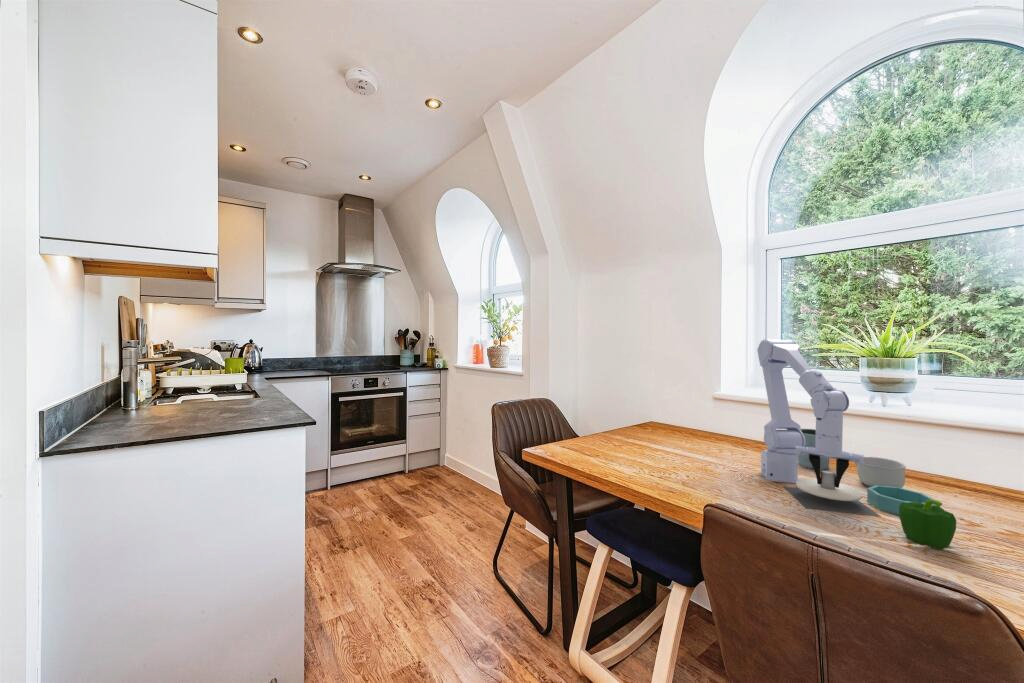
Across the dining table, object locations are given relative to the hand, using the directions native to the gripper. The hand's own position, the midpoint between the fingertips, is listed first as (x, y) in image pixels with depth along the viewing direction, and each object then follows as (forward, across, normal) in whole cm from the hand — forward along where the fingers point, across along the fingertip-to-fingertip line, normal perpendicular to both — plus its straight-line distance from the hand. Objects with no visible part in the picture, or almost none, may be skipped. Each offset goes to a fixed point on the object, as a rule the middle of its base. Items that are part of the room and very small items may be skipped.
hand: (827, 484), depth 110 cm
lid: (+2, 0, 0) cm, 2 cm away
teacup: (+5, +12, +25) cm, 28 cm away
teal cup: (+5, -3, +37) cm, 38 cm away
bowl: (+5, +15, +5) cm, 17 cm away
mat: (+5, 0, 0) cm, 5 cm away
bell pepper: (+5, +16, -15) cm, 23 cm away
